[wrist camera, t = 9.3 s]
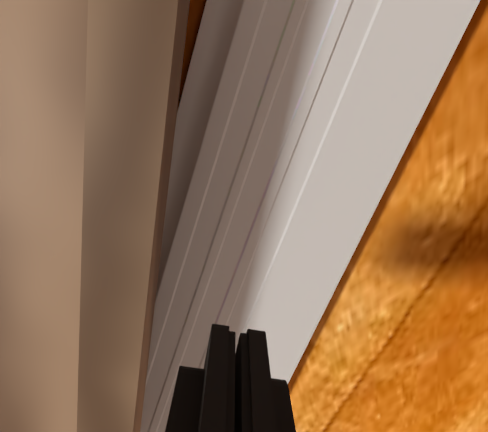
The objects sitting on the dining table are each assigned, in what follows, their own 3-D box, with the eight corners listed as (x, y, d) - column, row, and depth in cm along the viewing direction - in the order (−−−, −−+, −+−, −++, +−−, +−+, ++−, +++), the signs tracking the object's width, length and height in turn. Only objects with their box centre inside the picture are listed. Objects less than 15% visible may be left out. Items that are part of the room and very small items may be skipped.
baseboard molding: (81, 401, 23) (248, 440, 24) (59, 443, 20) (249, 484, 22) (217, -182, 13) (489, -56, 14) (211, -256, 10) (548, -91, 12)
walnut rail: (225, -158, 13) (213, -333, 7) (147, 442, 23) (121, 542, 18) (-71, -233, 12) (-313, -484, 7) (-10, 422, 23) (-84, 520, 17)
